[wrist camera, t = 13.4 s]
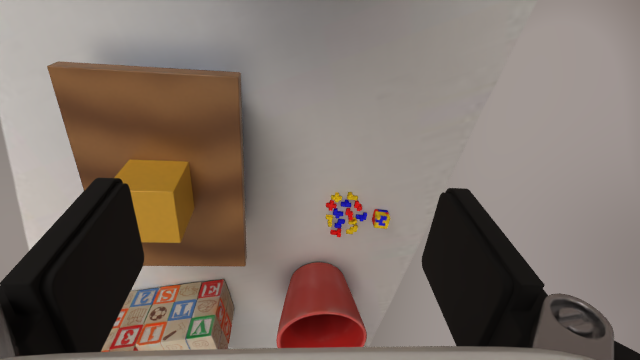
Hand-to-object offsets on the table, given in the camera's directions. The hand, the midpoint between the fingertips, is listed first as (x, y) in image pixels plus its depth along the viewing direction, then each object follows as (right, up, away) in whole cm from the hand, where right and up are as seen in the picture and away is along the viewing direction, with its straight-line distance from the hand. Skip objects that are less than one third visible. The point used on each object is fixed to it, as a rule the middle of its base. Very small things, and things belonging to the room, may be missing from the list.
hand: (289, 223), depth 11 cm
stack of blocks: (-23, -16, +41) cm, 50 cm away
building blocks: (+5, -3, +35) cm, 36 cm away
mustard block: (-13, +1, +21) cm, 25 cm away
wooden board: (-13, +2, +23) cm, 26 cm away
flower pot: (+1, -13, +41) cm, 43 cm away
